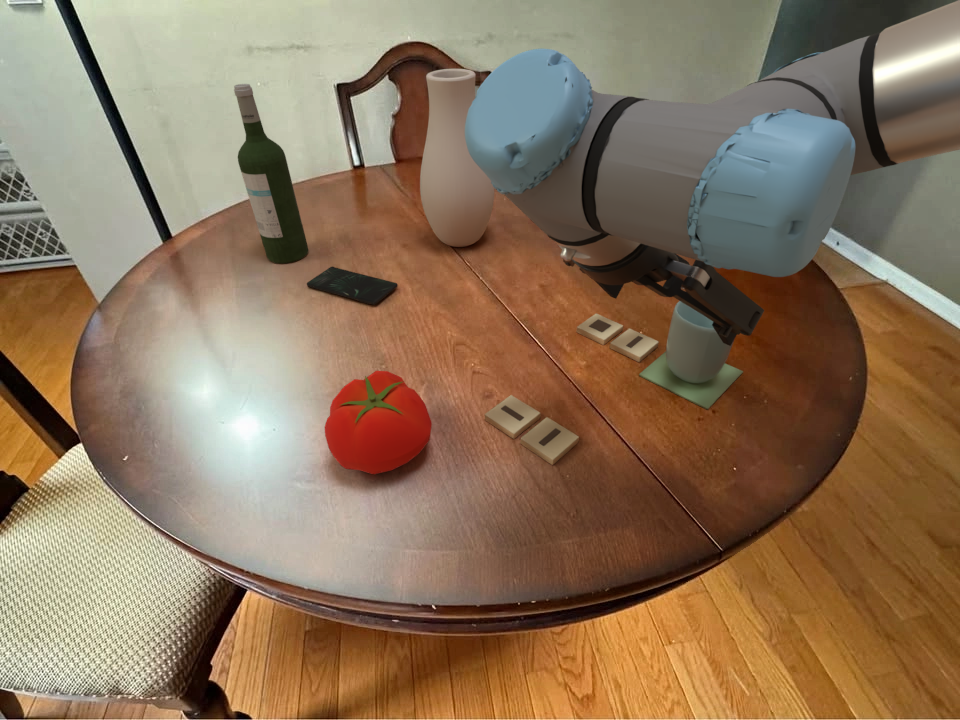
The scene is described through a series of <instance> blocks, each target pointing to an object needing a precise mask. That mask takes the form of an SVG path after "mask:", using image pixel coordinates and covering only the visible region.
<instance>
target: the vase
mask: <svg viewBox="0 0 960 720" xmlns="http://www.w3.org/2000/svg"><path fill="white" fill-rule="evenodd" d="M476 75H477V74H476V73H475V72H474V71H473V70H470V69H466V68H465V69H464V68H444V69H442V68H441V69H437V70H433V71H430V72H427V74H426V76H425V79H426V85H427V93H428V107H429V109H428V123H427V131H426V137H425V143H424V149H423V154H422V160H421V166H420V174H419V175H420V177H419V193H420V200H421V205H422V210H423V212H424V215H425V217H426V220H427V222H428V224H429V226H430V228H431V230H432V231H433V233H434V234H435V236H436V237H437V239H438V240H439V241H440V242H441V243H443V244H445V245H447V246H450V247H453V248H454V247H455V248H463V247H468V246H471V245H473V244H475V243H476V242H478V241H479V240H480V239H481V238H482V236H483V235H484V232H485V231H486V229H487V228H488V224H489V222H490V219H491V216H492V212H493V208H494V202H495V188H494V187H493V185H492V184H491V180H490V179H489V178H488V176H487V175H486V174H485V173H484V172H483V171H482V170H481V168H480V167H479V166H478V165H477V164H476V163H475V162H474V160H473V159H472V157H471V156H470V154H469V151H468V149H467V145H466V140H465V122H466V117H467V114H468V109H469V107H470V106H471V105H472V102H473V101H474V99H475V97H476Z"/></svg>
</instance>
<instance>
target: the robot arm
mask: <svg viewBox="0 0 960 720" xmlns="http://www.w3.org/2000/svg"><path fill="white" fill-rule="evenodd" d="M465 140H466V145H467V149H468V151H469V154H470V156H471V157H472V159H473V160H474V162H475V163H476V164H477V165H478V166H479V167H480V168H481V170H482V171H483V172H484V173H485V174H486V175H487V176H488V178H489V179H490V180H491V184H492V185H493V187H494V190H496V192H498V193H499V194H500V195H504V196H505V197H506V198H507V199H508V200H509V201H510V202H511V203H512V204H513V205H514V206H515V207H516V208H517V209H518V210H520V211H521V212H522V213H523V215H525V216H526V217H527V218H528V219H529V220H530V221H531V222H532V223H534V224H535V226H537V227H538V228H539V229H540V230H541V231H542V232H543V233H544V234H545V235H546V236H547V237H548V238H549V239H550V240H552V241H553V242H554V243H555V244H557V246H558V247H559V249H561V252H560V255H559V256H560V259H562V262H563V263H564V264H565V265H566V266H567V267H574V266H575V265H576V267H578V269H579V271H580V272H581V273H582V274H585V275H586V276H587V277H589V278H591V280H593V281H594V282H595V283H596V284H597V285H598V286H599V287H600V288H601V289H602V290H603V291H604V292H605V293H606V294H607V295H608V296H609V297H611V298H613V299H616V300H617V298H618V296H619V294H620V292H621V291H622V289H623V287H624V285H625V284H630V283H633V284H635V285H636V286H643V287H645V288H647V289H649V290H650V291H652V292H654V293H655V294H657V295H658V296H660V297H663V298H674V299H676V300H677V301H678V302H679V301H681V302H682V303H684V304H686V305H687V306H689V307H691V308H692V309H694V310H696V311H697V312H699V313H700V314H702V315H704V316H705V317H707V318H709V319H710V320H712V321H713V324H712V326H713V328H714V329H715V331H716V332H717V334H718V335H719V337H720V339H721V340H722V342H723V343H724V344H727V345H729V346H731V344H732V342H733V341H734V342H735V339H736V337H737V336H739V335H740V334H741V335H743V336H752V334H753V332H754V330H755V328H756V327H757V325H758V323H759V321H760V319H761V318H762V316H763V314H764V313H765V309H764V308H763V307H761V306H760V305H759V304H758V303H756V302H755V301H754V300H753V299H751V298H750V297H749V296H747V295H746V294H745V293H744V292H743V291H742V290H740V289H739V288H738V287H737V286H735V285H734V284H732V282H730V281H729V280H728V279H726V278H725V277H724V276H723V275H722V274H721V273H719V272H718V271H717V270H716V269H724V270H725V269H726V270H740V271H744V272H750V273H755V274H759V275H763V276H768V277H771V278H784V277H790V276H792V275H794V274H797V273H798V272H800V271H802V270H803V269H804V268H805V267H806V266H808V264H809V263H810V262H811V261H812V260H813V258H814V257H815V255H816V254H817V253H818V251H819V248H820V246H821V244H822V242H823V240H825V239H826V237H827V236H828V234H829V232H830V229H831V228H832V226H833V223H834V221H835V219H836V217H837V214H838V212H839V210H840V207H841V204H842V201H843V199H844V196H845V193H846V191H847V187H848V185H849V181H850V177H851V176H853V175H857V174H862V173H866V172H871V171H874V170H878V169H883V168H887V167H891V166H896V165H899V164H901V163H906V162H911V161H916V160H920V159H923V158H930V157H933V156H937V155H942V154H947V153H950V152H956V151H959V150H960V0H956V1H953V2H951V3H948V4H945V5H943V6H940V7H937V8H935V9H933V10H930V11H927V12H924V13H921V14H919V15H917V16H914V17H911V18H909V19H906V20H904V21H901V22H899V23H896V24H893V25H891V26H888V27H886V28H884V29H883V30H881V31H878V32H876V33H874V34H873V33H872V34H871V35H867V36H864V37H860V38H858V39H855V40H852V41H850V42H847V43H844V44H842V45H840V46H839V45H838V46H836V47H834V48H832V49H829V50H826V51H823V52H820V51H819V52H814V53H810V54H808V55H805V56H802V57H800V58H797V59H795V60H793V61H791V62H788V63H786V64H783V65H781V66H779V67H777V68H776V69H775V70H774V71H773V72H772V73H770V74H769V75H767V76H765V77H763V78H760V80H759V79H758V80H757V81H755V82H751V83H749V84H747V85H745V86H744V87H742V88H739V89H737V90H736V91H733V92H731V93H729V94H727V95H725V96H723V97H721V98H718V99H716V100H714V101H713V102H709V103H696V102H695V103H694V102H680V101H668V100H657V99H656V100H655V99H649V98H644V97H643V98H642V97H636V96H632V95H620V94H610V93H602V92H598V91H595V90H593V85H592V83H591V81H590V79H589V78H587V76H586V74H585V73H584V72H583V71H581V70H580V69H579V68H578V67H577V65H576V64H575V62H573V61H572V60H571V59H570V58H569V57H568V56H567V55H566V54H564V53H561V52H560V51H558V50H556V49H552V48H551V49H550V48H533V49H529V50H525V51H522V52H519V53H517V54H515V55H513V56H511V57H510V58H508V59H506V60H505V61H503V62H502V63H501V64H499V65H498V66H497V67H496V68H495V69H494V70H492V71H491V72H490V74H489V75H488V76H487V77H486V78H485V79H484V81H483V82H482V83H481V84H480V86H479V87H478V88H477V90H476V93H475V99H474V101H473V102H472V105H471V106H470V107H469V109H468V114H467V117H466V122H465ZM683 257H686V258H688V259H692V260H694V262H693V264H692V265H690V262H689V261H687V260H686V259H685V258H683ZM664 281H665V282H664ZM661 282H664V283H663V285H661V284H659V283H661ZM734 342H733V343H734Z"/></svg>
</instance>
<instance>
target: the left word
mask: <svg viewBox="0 0 960 720" xmlns="http://www.w3.org/2000/svg"><path fill="white" fill-rule="evenodd" d="M483 417H484V421H486V422H487V423H489V424H490V425H492V426H493V427H495V428H496V429H497V430H499V431H500V432H502V433H504V434H505V435H506V436H508V437H509V438H512V439H513V440H515V439H516V438H518V437H519V436H520V435H521V434H523V433H524V432H525V431H526V430H528V429H529V428H530V427H531V426H533V425H534V424H535V423H536V422H538V421H539V420H540V419H541V412H540V411H538V410H537V409H535V408H534V407H532V406H531V405H528V404H527V403H525V402H524V401H522V400H520V399H519V398H517V397H515V396H514V395H513V394H510V395H509V396H507V397H506V398H504V399H503V400H502V401H501V402H499V403H497V404H496V405H495V406H494V407H492V408H491V409H489V410H488V411H486V412H485V413H484V416H483ZM579 441H580V436H579V435H577V434H575V433H574V432H572V431H571V430H569V429H568V428H566V427H564V426H563V425H561V424H559V423H558V422H556V421H555V420H553V419H551V418H550V417H547V416H546V417H545V418H543V419H542V420H541V421H540V422H539V423H538V424H536V425H535V426H534V427H532V428H531V429H530V430H529V431H527V432H526V433H525V434H524V435H522V436H521V437H520V442H519V444H520V445H521V446H523V447H524V448H526V449H528V450H529V451H530V452H532V453H533V454H535V455H537V456H538V457H539V458H540V459H543V460H544V461H545V462H547V463H548V464H549V465H551V466H554V465H555V464H556V463H557V462H558V461H559V460H560V459H561V458H563V457H564V456H565V455H566V454H567V453H568V452H570V451H571V450H572V449H573V448H574V447H575V446H576V445H578V444H579Z"/></svg>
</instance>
